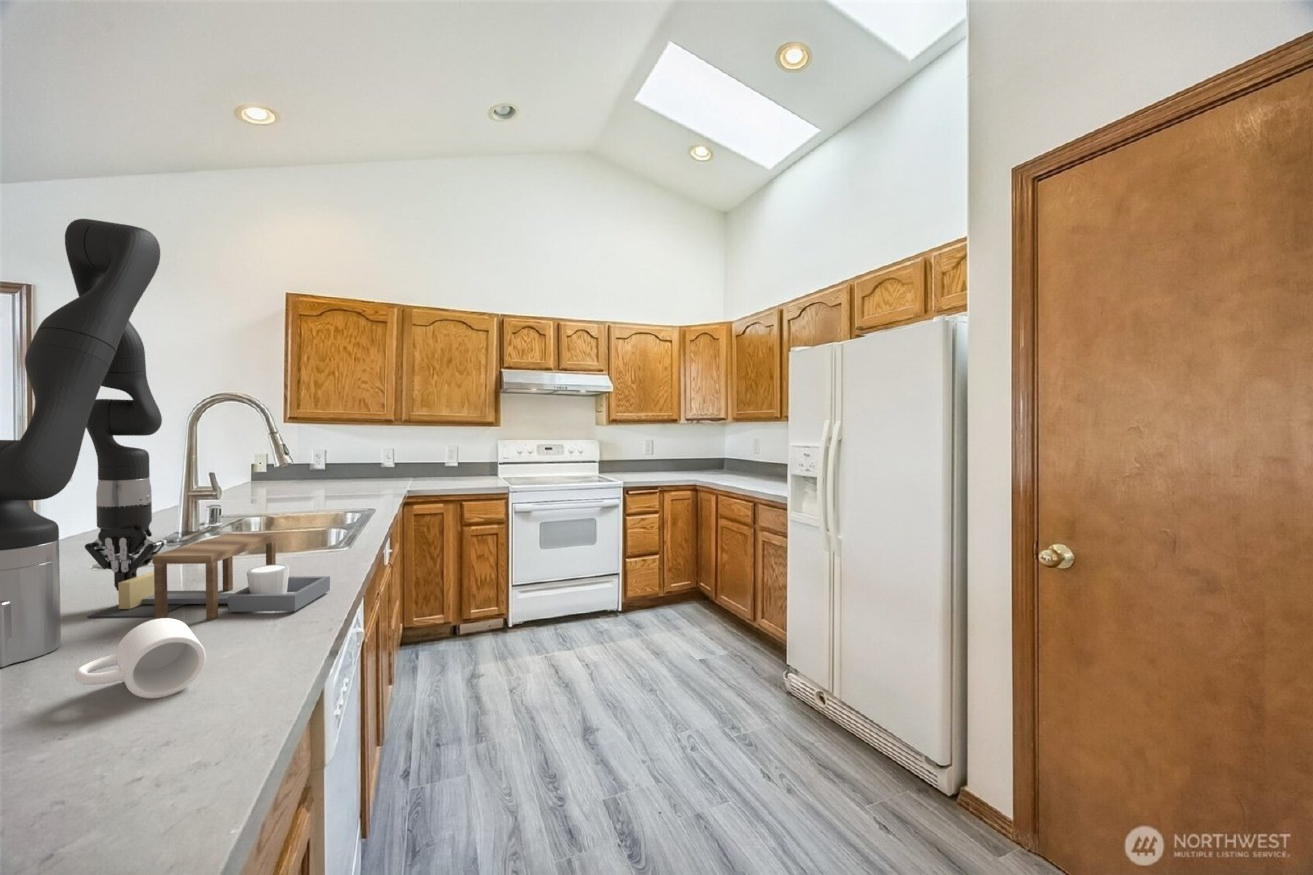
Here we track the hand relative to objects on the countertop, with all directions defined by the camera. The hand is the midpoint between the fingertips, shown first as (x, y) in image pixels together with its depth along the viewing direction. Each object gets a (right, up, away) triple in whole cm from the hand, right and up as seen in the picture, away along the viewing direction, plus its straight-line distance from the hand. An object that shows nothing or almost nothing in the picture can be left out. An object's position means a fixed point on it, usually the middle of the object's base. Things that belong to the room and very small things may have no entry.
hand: (125, 589), depth 101 cm
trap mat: (+5, -3, +1) cm, 6 cm away
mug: (+34, -5, -31) cm, 46 cm away
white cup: (+26, -4, +2) cm, 27 cm away
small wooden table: (+17, -3, +2) cm, 18 cm away
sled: (+18, -3, +2) cm, 19 cm away
